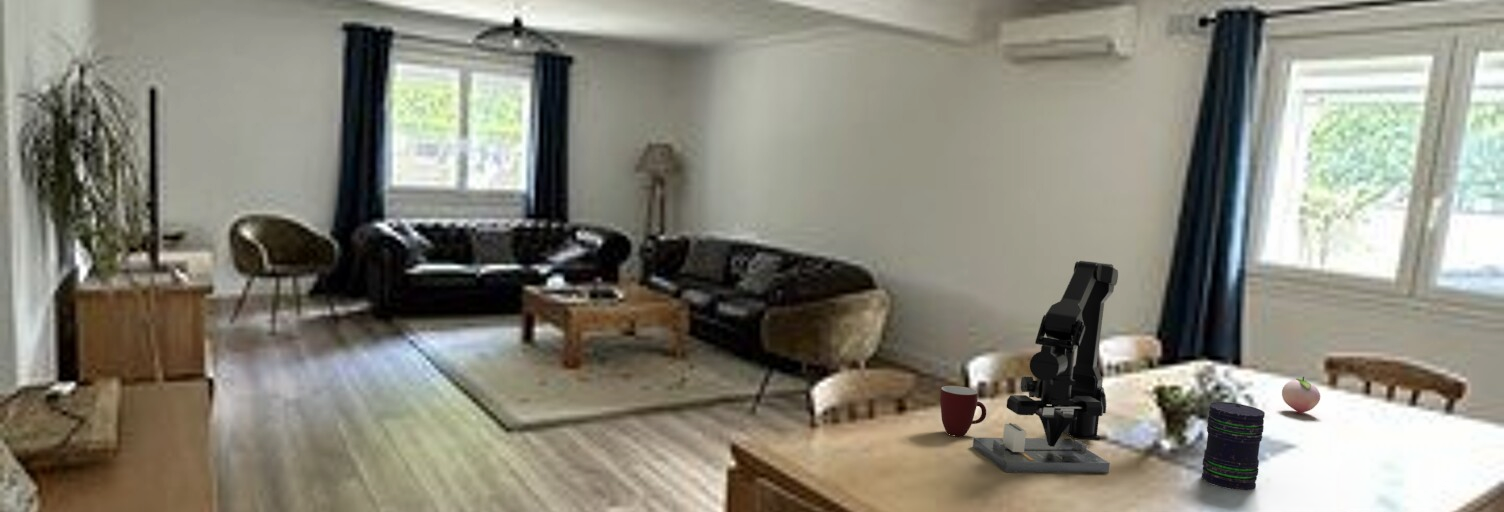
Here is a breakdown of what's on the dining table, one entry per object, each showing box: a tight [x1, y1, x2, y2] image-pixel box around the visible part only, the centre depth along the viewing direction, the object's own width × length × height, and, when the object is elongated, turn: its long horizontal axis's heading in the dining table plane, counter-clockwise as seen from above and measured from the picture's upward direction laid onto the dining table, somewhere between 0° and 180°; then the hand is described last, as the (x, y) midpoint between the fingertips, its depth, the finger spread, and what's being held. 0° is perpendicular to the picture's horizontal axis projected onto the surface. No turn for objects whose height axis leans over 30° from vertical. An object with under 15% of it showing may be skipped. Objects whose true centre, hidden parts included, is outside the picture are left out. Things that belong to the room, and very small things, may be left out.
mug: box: [939, 385, 987, 437], centre depth 203 cm, size 11×8×10 cm
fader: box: [1002, 422, 1027, 452], centre depth 187 cm, size 2×5×5 cm, turn 10°
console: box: [972, 437, 1110, 474], centre depth 189 cm, size 22×16×4 cm
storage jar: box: [1201, 401, 1266, 492], centre depth 181 cm, size 10×10×15 cm
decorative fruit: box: [1281, 376, 1321, 414], centre depth 243 cm, size 9×8×10 cm
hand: (1051, 445), depth 189 cm, fingers closed
